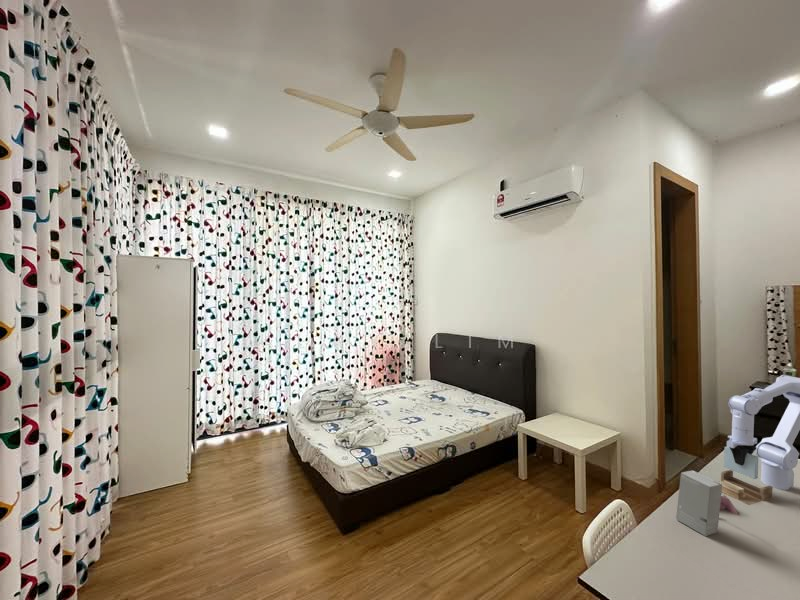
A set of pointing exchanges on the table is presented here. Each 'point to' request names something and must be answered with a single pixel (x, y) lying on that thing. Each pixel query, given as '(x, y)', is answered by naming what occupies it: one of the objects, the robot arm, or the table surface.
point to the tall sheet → (747, 469)
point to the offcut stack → (732, 490)
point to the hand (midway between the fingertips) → (741, 463)
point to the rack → (748, 489)
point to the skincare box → (699, 502)
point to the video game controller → (727, 504)
